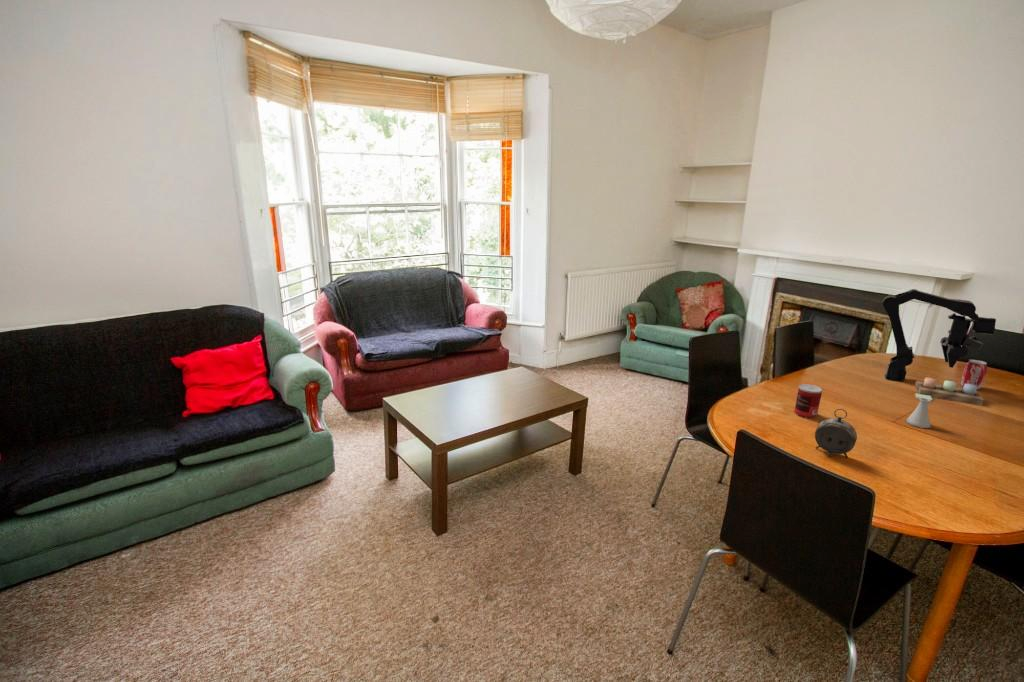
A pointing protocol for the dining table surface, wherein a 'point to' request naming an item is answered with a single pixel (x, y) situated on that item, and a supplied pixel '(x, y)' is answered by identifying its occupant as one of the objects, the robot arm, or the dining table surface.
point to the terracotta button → (929, 383)
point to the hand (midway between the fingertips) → (948, 364)
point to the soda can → (974, 373)
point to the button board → (949, 394)
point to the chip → (923, 396)
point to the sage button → (949, 386)
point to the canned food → (808, 400)
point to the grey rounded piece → (969, 389)
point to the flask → (920, 415)
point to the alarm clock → (835, 435)
